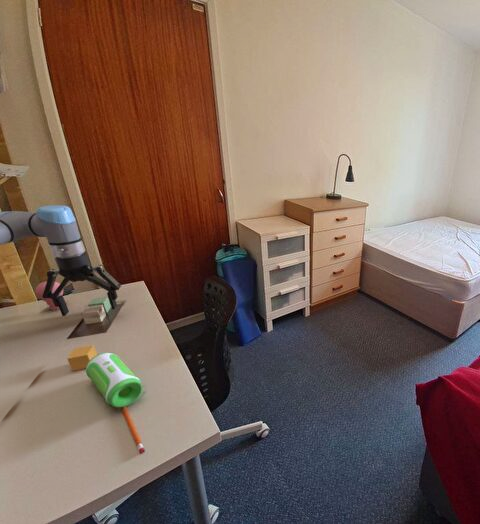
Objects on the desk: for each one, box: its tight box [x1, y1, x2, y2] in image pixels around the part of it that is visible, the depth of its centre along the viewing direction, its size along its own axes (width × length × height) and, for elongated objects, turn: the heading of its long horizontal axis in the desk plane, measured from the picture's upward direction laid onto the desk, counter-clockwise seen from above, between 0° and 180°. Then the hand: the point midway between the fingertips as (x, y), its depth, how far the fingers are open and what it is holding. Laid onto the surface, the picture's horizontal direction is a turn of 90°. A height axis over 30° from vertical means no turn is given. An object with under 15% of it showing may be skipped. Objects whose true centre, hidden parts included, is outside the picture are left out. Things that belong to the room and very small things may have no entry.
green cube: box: [87, 296, 111, 313], centre depth 104 cm, size 4×4×4 cm
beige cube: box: [81, 305, 106, 324], centre depth 99 cm, size 4×4×4 cm
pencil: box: [120, 406, 146, 454], centre depth 65 cm, size 1×19×1 cm, turn 48°
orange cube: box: [66, 344, 98, 372], centre depth 81 cm, size 4×4×4 cm
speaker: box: [85, 352, 143, 408], centre depth 73 cm, size 18×7×8 cm, turn 55°
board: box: [66, 302, 125, 340], centre depth 100 cm, size 12×20×1 cm, turn 22°
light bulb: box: [34, 280, 64, 311], centre depth 104 cm, size 7×7×12 cm
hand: (90, 310), depth 98 cm, fingers open, 13 cm apart
